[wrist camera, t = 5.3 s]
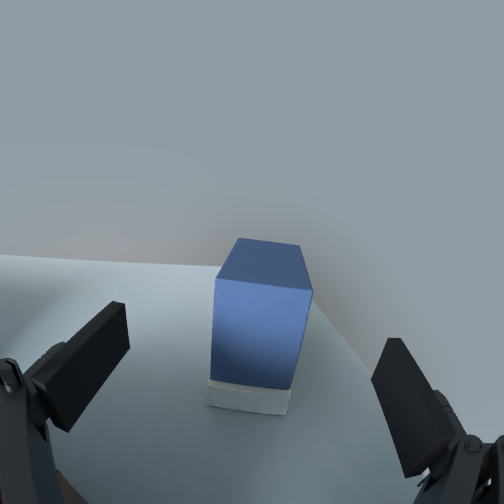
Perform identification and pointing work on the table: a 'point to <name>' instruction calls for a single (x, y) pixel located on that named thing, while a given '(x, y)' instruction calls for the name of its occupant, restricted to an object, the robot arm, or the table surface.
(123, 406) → the table surface
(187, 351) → the table surface
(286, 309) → the block
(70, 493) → the shelf
